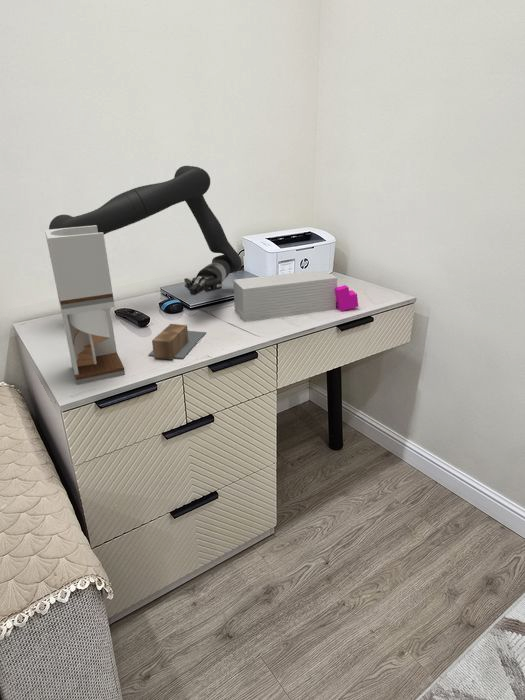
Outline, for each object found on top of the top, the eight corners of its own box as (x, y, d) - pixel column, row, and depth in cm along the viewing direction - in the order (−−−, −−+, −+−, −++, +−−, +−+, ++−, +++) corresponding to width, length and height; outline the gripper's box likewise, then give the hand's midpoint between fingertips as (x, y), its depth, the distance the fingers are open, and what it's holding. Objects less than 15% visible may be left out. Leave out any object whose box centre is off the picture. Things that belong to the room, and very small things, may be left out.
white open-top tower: (77, 384, 117) (47, 238, 102) (72, 366, 126) (44, 230, 111) (125, 374, 121) (103, 233, 107) (117, 358, 130) (96, 225, 115)
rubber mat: (148, 356, 131) (148, 354, 131) (174, 330, 147) (174, 329, 146) (183, 359, 129) (183, 357, 128) (206, 333, 144) (205, 332, 144)
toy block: (358, 306, 160) (355, 285, 157) (340, 311, 159) (337, 290, 156) (341, 292, 173) (338, 272, 170) (325, 297, 173) (322, 277, 169)
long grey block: (322, 299, 171) (323, 269, 166) (335, 309, 162) (337, 277, 157) (234, 311, 162) (233, 279, 157) (244, 321, 153) (242, 289, 148)
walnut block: (172, 340, 139) (154, 357, 129) (170, 323, 137) (151, 340, 127) (188, 341, 138) (171, 359, 128) (187, 325, 136) (169, 342, 126)
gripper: (192, 264, 160) (171, 278, 145) (230, 266, 157) (213, 281, 142) (193, 286, 163) (173, 302, 148) (231, 288, 161) (214, 305, 145)
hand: (193, 291), depth 145 cm, fingers closed
